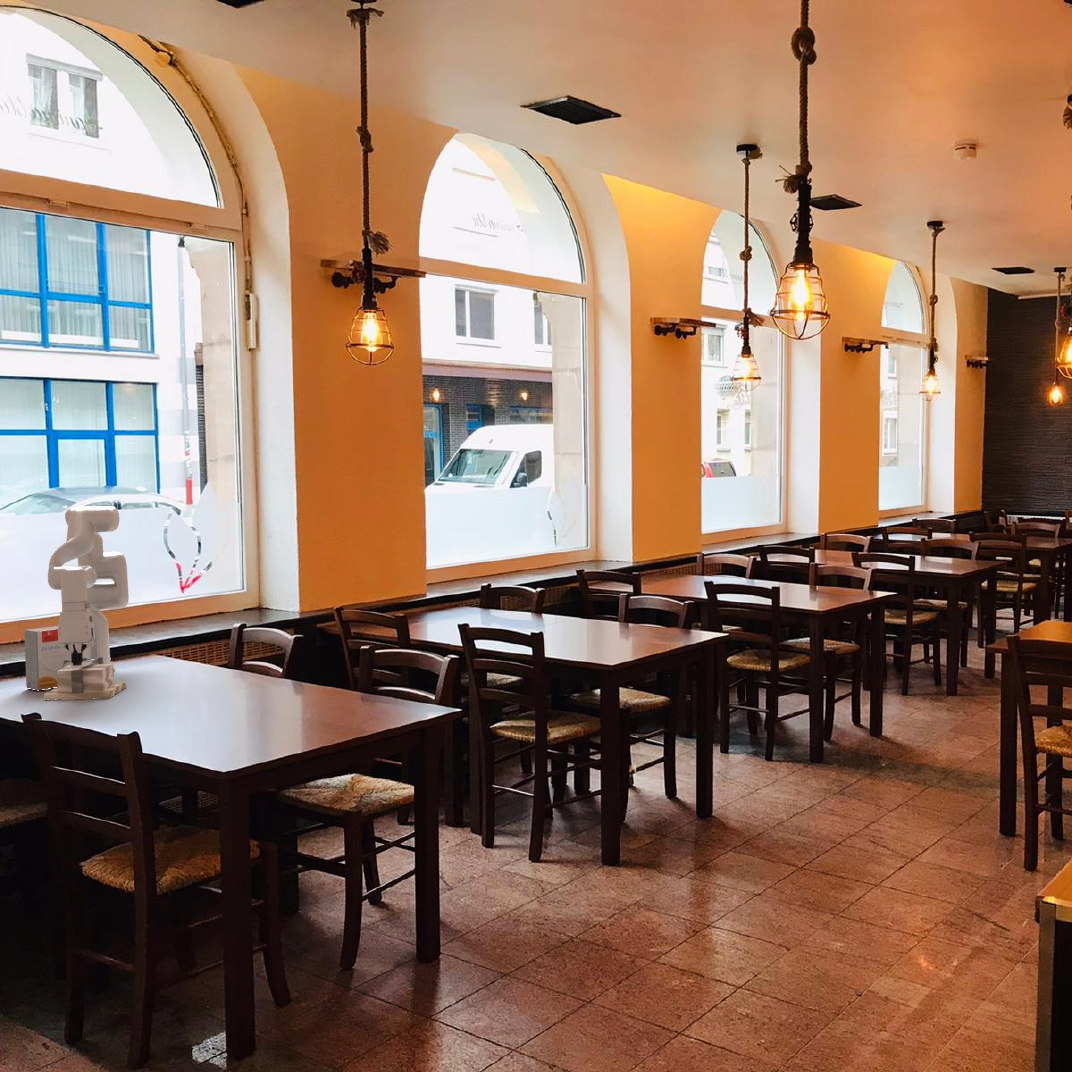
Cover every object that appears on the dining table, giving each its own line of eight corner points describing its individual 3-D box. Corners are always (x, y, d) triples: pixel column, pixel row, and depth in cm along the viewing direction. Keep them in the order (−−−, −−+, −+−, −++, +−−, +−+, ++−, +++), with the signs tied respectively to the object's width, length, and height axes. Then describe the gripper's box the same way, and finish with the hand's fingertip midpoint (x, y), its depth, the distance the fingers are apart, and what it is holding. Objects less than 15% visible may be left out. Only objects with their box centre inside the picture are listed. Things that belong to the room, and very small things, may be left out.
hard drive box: (38, 692, 368) (35, 631, 366) (25, 689, 372) (22, 629, 371) (82, 684, 380) (79, 625, 379) (69, 681, 385) (66, 623, 383)
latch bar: (87, 662, 371) (87, 658, 371) (98, 662, 371) (98, 658, 371) (70, 668, 355) (70, 665, 355) (81, 668, 355) (81, 664, 355)
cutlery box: (64, 689, 372) (62, 657, 371) (126, 687, 373) (124, 656, 372) (44, 700, 355) (42, 667, 354) (108, 698, 356) (107, 665, 355)
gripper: (103, 605, 360) (105, 662, 361) (55, 606, 359) (57, 663, 360) (94, 607, 352) (97, 666, 353) (46, 609, 352) (48, 667, 352)
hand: (77, 665), depth 357 cm, fingers closed
